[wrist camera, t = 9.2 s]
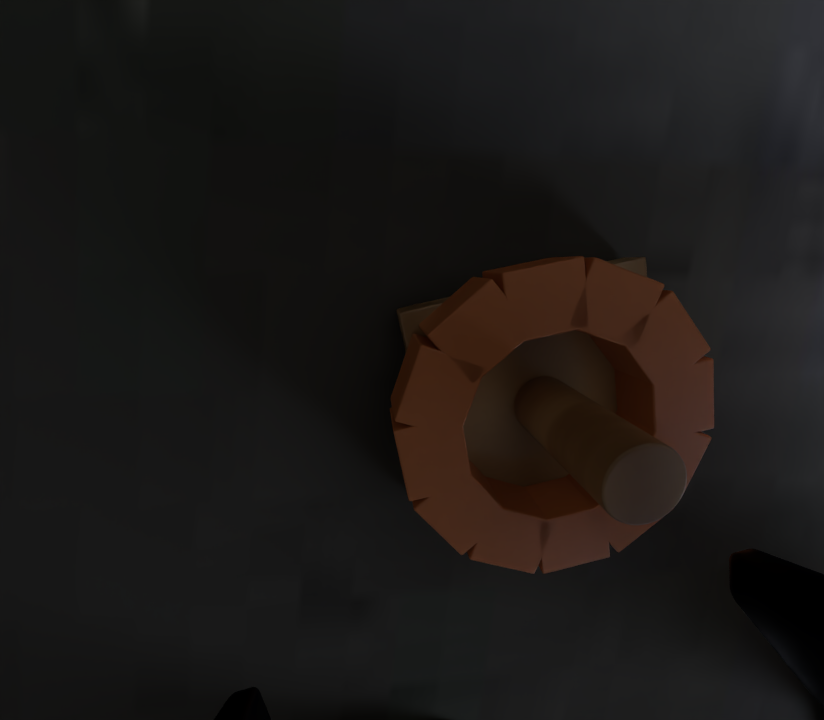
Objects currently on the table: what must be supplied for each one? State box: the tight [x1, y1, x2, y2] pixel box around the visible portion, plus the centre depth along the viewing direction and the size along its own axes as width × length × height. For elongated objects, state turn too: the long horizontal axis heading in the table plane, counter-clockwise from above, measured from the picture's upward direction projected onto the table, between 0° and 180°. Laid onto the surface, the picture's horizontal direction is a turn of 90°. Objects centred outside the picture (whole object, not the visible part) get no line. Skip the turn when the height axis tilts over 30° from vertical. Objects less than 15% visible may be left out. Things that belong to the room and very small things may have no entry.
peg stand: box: [396, 257, 687, 525], centre depth 14 cm, size 10×10×8 cm
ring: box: [390, 256, 714, 574], centre depth 16 cm, size 12×12×2 cm
